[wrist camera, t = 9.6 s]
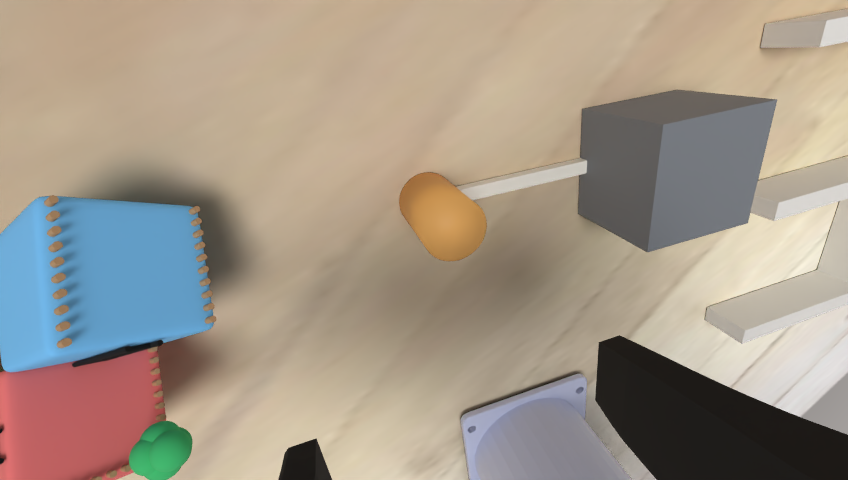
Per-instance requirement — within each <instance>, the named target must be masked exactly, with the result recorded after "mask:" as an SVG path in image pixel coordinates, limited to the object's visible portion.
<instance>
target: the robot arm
mask: <svg viewBox="0 0 848 480" xmlns="http://www.w3.org/2000/svg"><path fill="white" fill-rule="evenodd" d="M586 390H587V379H586V378H585V377H584V376H583V375H582V374H575V375H572V376H569V377H567V378H564V379H561V380H558V381H555V382H552V383H550V384H547V385H544V386H541V387H538V388H535V389H533V390H530V391H527V392H524V393H521V394H518V395H516V396H513V397H510V398H507V399H504V400H501V401H498V402H496V403H493V404H490V405H487V406H484V407H481V408H479V409H476V410H473V411H470V412H467V413H465V414H464V415H463V416H462V418H461V428H462V435H463V442H464V448H465V455H466V462H467V469H468V476H469V480H632V479H631V478H630V476H629V475H628V474H627V473H626V471H625V470H624V469H623V468H622V466H621V465H620V464H619V463H618V461H617V460H616V459H615V458H614V456H613V455H612V454H611V453H610V451H609V450H608V449H607V447H606V446H605V445H604V444H603V442H602V441H601V440H600V439H599V437H598V436H597V435H596V434H595V432H594V431H593V430H592V429H591V427H590V426H589V425H588V424H587V422H586V421H585V410H586ZM595 400H596V402H597V403H598V405H599V406H600V408H601V409H602V411H603V412H604V414H605V415H606V417H607V418H608V420H609V421H610V423H611V424H612V426H613V427H614V428H615V430H616V431H617V433H618V434H619V436H620V437H621V438H622V439H623V441H624V442H625V443H626V444H627V445H628V447H629V448H630V449H631V450H632V451H633V452H634V454H635V455H636V456H637V457H638V458H639V460H640V461H641V462H642V463H643V464H644V465H645V467H646V468H647V469H648V470H649V471H650V472H651V474H652V475H653V476H654V477H655V478H656V479H657V480H848V435H847V434H844V433H841V432H839V431H836V430H833V429H830V428H828V427H825V426H822V425H819V424H816V423H814V422H811V421H808V420H806V419H803V418H801V417H798V416H796V415H793V414H790V413H788V412H785V411H783V410H781V409H778V408H776V407H773V406H771V405H769V404H766V403H764V402H762V401H759V400H757V399H754V398H752V397H750V396H747V395H745V394H743V393H741V392H738V391H736V390H734V389H732V388H729V387H727V386H725V385H723V384H721V383H718V382H716V381H714V380H712V379H710V378H708V377H705V376H703V375H701V374H699V373H697V372H695V371H693V370H691V369H689V368H687V367H684V366H682V365H680V364H678V363H676V362H674V361H672V360H670V359H668V358H666V357H664V356H662V355H660V354H658V353H656V352H654V351H652V350H649V349H647V348H645V347H643V346H641V345H639V344H637V343H635V342H633V341H631V340H628V339H626V338H624V337H622V336H617V337H614V338H611V339H608V340H605V341H602V342H599V350H598V366H597V382H596V398H595ZM279 480H332V478H331V476H330V473H329V470H328V468H327V465H326V463H325V460H324V457H323V455H322V452H321V450H320V447H319V444H318V442H317V439H313V440H311V441H308V442H305V443H302V444H299V445H296V446H293V447H290V448H288V449H287V451H286V452H285V455H284V459H283V464H282V468H281V472H280V476H279Z"/></svg>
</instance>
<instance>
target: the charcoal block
mask: <svg viewBox="0 0 848 480" xmlns="http://www.w3.org/2000/svg"><path fill="white" fill-rule="evenodd" d="M776 102H777V100H776V99H766V98H756V97H746V96H735V95H725V94H715V93H705V92H694V91H684V90H673V91H668V92H664V93H659V94H654V95H649V96H644V97H639V98H634V99H629V100H624V101H619V102H614V103H609V104H604V105H599V106H594V107H589V108H584V109H582V128H581V154H580V158H578V159H574V160H569V161H565V162H561V163H556V164H552V165H548V166H543V167H539V168H534V169H530V170H526V171H521V172H517V173H513V174H508V175H504V176H499V177H495V178H491V179H486V180H482V181H478V182H473V183H469V184H465V185H460V186H456V187H455V186H454V185H453V184H451V183H450V182H449V181H448V180H446V179H445V178H444V177H443V176H441V175H439V174H436V173H431V172H427V173H421V174H418V175H416V176H414V177H413V178H411V179H410V180H409V181H408V182H407V183H406V184H405V186H404V187H403V189H402V191H401V194H400V199H399V204H400V210H401V212H402V214H403V216H404V217H405V219H406V220H407V221H408V223H409V224H410V226H411V227H412V229H413V230H414V232H415V233H416V234H417V236H418V237H419V239H420V240H421V242H422V243H423V244H424V246H425V247H426V249H427V250H428V251H429V253H430V254H431V255H433V256H434V257H435V258H438V259H440V260H443V261H456V260H460V259H463V258H465V257H467V256H469V255H470V254H472V253H473V252H474V251H475V250H476V249H477V248H478V247H479V246H480V244H481V243H482V241H483V239H484V236H485V233H486V227H487V223H486V217H485V214H484V212H483V211H482V209H481V208H480V207H479V206H478V205H477V204H476V203H475V202H474V201H472V200H476V199H481V198H485V197H489V196H493V195H497V194H502V193H506V192H510V191H514V190H518V189H522V188H527V187H531V186H535V185H539V184H543V183H548V182H552V181H556V180H560V179H564V178H569V177H573V176H577V175H580V180H579V206H578V214H580V215H582V216H583V217H585V218H587V219H589V220H591V221H592V222H594V223H596V224H598V225H600V226H601V227H603V228H605V229H607V230H608V231H610V232H612V233H614V234H616V235H617V236H619V237H621V238H623V239H625V240H626V241H628V242H630V243H632V244H633V245H635V246H637V247H639V248H641V249H642V250H644V251H646V252H650V251H654V250H657V249H660V248H664V247H667V246H671V245H674V244H678V243H681V242H684V241H688V240H691V239H695V238H698V237H702V236H705V235H708V234H712V233H715V232H719V231H722V230H725V229H729V228H732V227H736V226H739V225H743V224H746V223H748V220H749V215H750V211H751V207H752V203H753V199H754V194H755V190H756V186H757V182H758V178H759V174H760V169H761V165H762V161H763V157H764V153H765V148H766V144H767V140H768V136H769V132H770V128H771V123H772V119H773V115H774V111H775V107H776Z"/></svg>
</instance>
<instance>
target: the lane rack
mask: <svg viewBox="0 0 848 480" xmlns="http://www.w3.org/2000/svg"><path fill="white" fill-rule="evenodd" d="M843 42H848V9H843V10H837V11H832V12H827V13H821V14H816V15H811V16H805V17H800V18H794V19H789V20H784V21H778V22H773V23H768V24H765V27H764V32H763V37H762V42H761V47H760V48H795V47H824V46H828V45H833V44H838V43H843ZM838 201H840V202H839V205H838V208H837V211H836V214H835V217H834V220H833V223H832V226H831V229H830V232H829V235H828V238H827V241H826V244H825V247H824V250H823V253H822V256H821V259H820V262H819V265H818V268H817V270H815V271H812V272H809V273H806V274H803V275H800V276H797V277H794V278H791V279H789V280H786V281H783V282H780V283H777V284H774V285H771V286H768V287H765V288H762V289H759V290H756V291H753V292H750V293H747V294H744V295H742V296H739V297H736V298H733V299H730V300H727V301H724V302H721V303H718V304H715V305H712V306H709V307H707V311H706V316H705V320H706V321H707V322H709V323H711V324H712V325H714V326H715V327H717V328H718V329H720V330H721V331H723V332H724V333H726V334H727V335H729V336H731V337H732V338H734V339H735V340H737V341H738V342H740V343H741V344H743V343H745V342H748V341H751V340H753V339H756V338H759V337H762V336H764V335H767V334H770V333H772V332H775V331H778V330H781V329H783V328H786V327H789V326H791V325H794V324H797V323H800V322H802V321H805V320H808V319H810V318H813V317H816V316H819V315H821V314H824V313H827V312H829V311H832V310H835V309H838V308H840V307H843V306H846V305H848V156H845V157H842V158H838V159H834V160H831V161H827V162H824V163H820V164H816V165H813V166H809V167H806V168H802V169H798V170H795V171H791V172H788V173H784V174H780V175H777V176H773V177H769V178H766V179H762V180H759V181H758V182H757V186H756V190H755V194H754V199H753V203H752V207H751V211H750V213H753V214H756V215H758V216H761V217H764V218H767V219H770V220H773V221H776V220H779V219H782V218H786V217H789V216H792V215H795V214H799V213H802V212H805V211H809V210H812V209H815V208H819V207H822V206H825V205H828V204H832V203H835V202H838Z"/></svg>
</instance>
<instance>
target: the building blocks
mask: <svg viewBox="0 0 848 480" xmlns="http://www.w3.org/2000/svg"><path fill="white" fill-rule="evenodd" d="M199 211H200V208H199V207H198V206H195V207H191V206H184V205H170V204H157V203H143V202H129V201H116V200H102V199H88V198H75V197H61V196H54V195H52V196H45V197H39V198H37V199H35V200H34V201H33V202H32V203H31V204H30V205H29V206H28V207H27V208H26V209H25V210H24V211H23V212H22V213H21V214H20V215H19V216H18V217H17V218H16V219H15V220H14V221H13V222H12V223H11V224H10V225H9V226H8V227H7V228H6V229H5V230H4V231H3V232H2V233H1V234H0V354H1V363H2V367H3V369H4V370H5V371H2V372H0V480H116V479H119V478H121V477H123V476H126V475H128V474H131V473H133V472H134V473H136V474H138V475H141V476H145V477H146V478H147V479H149V480H167V479H169V478H171V477H172V476H173V475H175V474H176V473H177V472H178V471H179V469H180V468H181V466H182V465H183V464H184V463H185V462H186V461H187V459H188V458H189V456H190V454H191V450H192V437H191V435H190V433H189V432H188V431H187V430H186V429H184V428H181V427H178V425H176V424H175V423H173V422H170V421H166V415H165V408H164V406H165V404H164V400H163V392H162V381H161V376H160V368H159V358H158V353H157V349H158V348H157V346H160V345H162V344H163V343H166V342H169V341H173V340H176V339H179V338H183V337H186V336H190V335H193V334H197V333H200V332H203V331H206V330H209V329H210V328H212V327H213V324H214V322H215V321H216V317H215V316H213V310H212V309H214V304H213V303H211V296H212V295H213V293H212V291H210V289H209V284H210V283H211V280H210V279H209V278H208V276H207V272H208V271H209V268H208V267H207V266H206V262H205V260H206V259H207V255H206V254H204V247H205V243H204V242H203V241H202V235H203V234H204V232H203V231H202V230H201V228H200V223H202V220H201V219H200V218H199V217H198V213H197V212H199Z"/></svg>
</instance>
